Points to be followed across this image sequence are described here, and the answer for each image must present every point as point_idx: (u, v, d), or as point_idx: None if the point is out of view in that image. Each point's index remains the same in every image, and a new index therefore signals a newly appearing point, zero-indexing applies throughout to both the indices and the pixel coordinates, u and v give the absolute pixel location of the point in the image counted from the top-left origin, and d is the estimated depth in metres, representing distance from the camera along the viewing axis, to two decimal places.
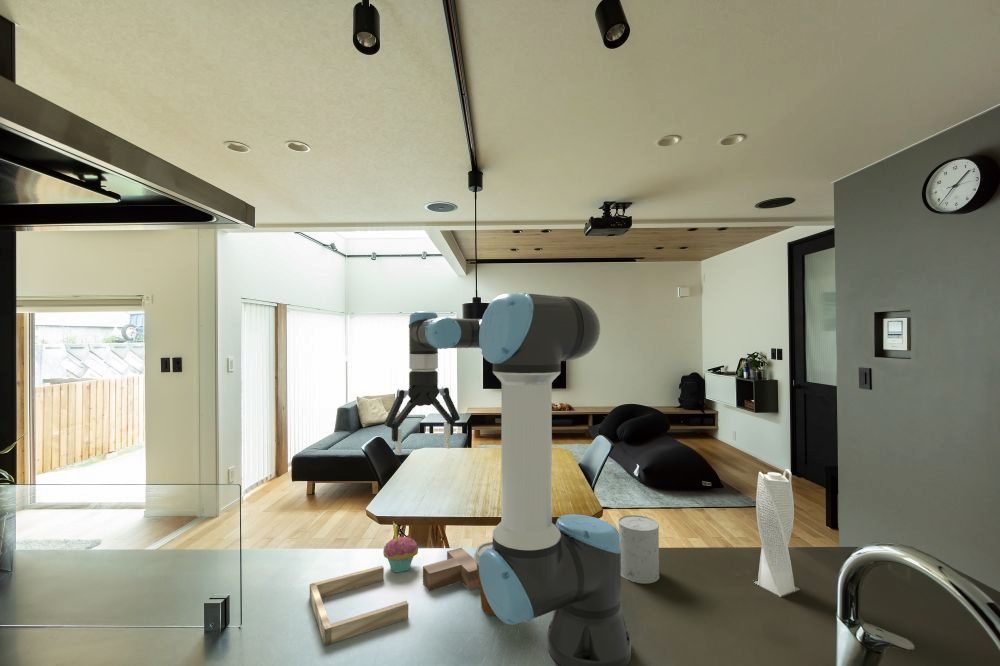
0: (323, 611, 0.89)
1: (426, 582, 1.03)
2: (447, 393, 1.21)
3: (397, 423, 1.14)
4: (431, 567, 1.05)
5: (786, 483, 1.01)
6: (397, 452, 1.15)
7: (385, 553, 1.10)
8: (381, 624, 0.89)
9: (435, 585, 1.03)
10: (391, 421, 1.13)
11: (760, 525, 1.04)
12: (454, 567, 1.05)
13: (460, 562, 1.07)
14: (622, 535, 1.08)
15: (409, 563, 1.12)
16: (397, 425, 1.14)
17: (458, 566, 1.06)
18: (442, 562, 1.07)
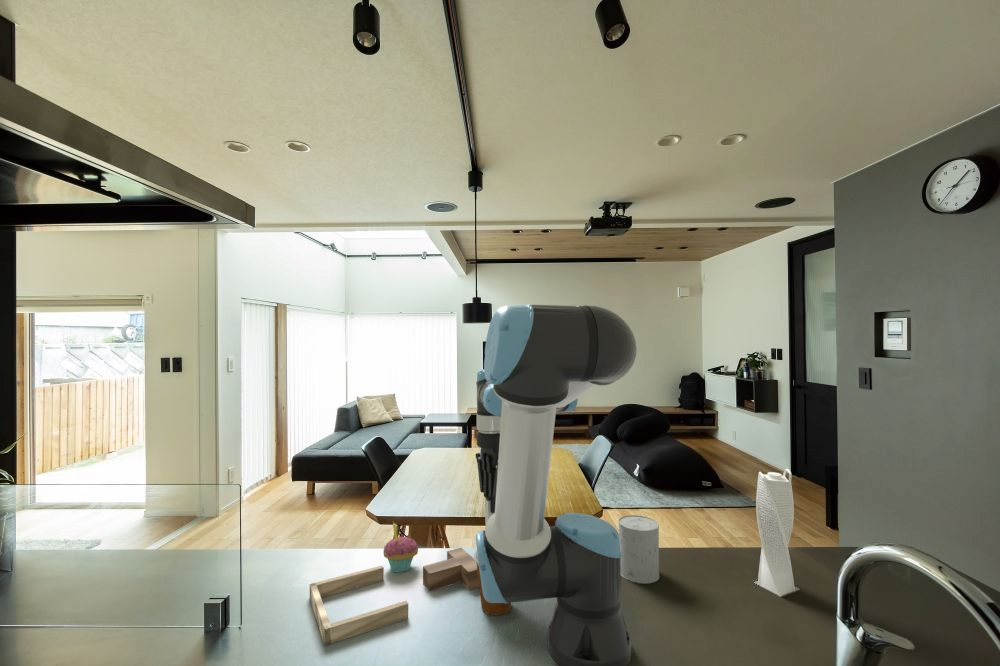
0: (323, 611, 0.89)
1: (426, 582, 1.03)
2: (497, 469, 1.08)
3: (484, 491, 1.14)
4: (431, 567, 1.05)
5: (786, 483, 1.01)
6: None
7: (385, 553, 1.10)
8: (381, 624, 0.89)
9: (435, 585, 1.03)
10: (481, 486, 1.15)
11: (760, 525, 1.04)
12: (454, 567, 1.05)
13: (460, 562, 1.07)
14: (622, 535, 1.08)
15: (409, 563, 1.12)
16: (484, 493, 1.14)
17: (458, 566, 1.06)
18: (442, 562, 1.07)
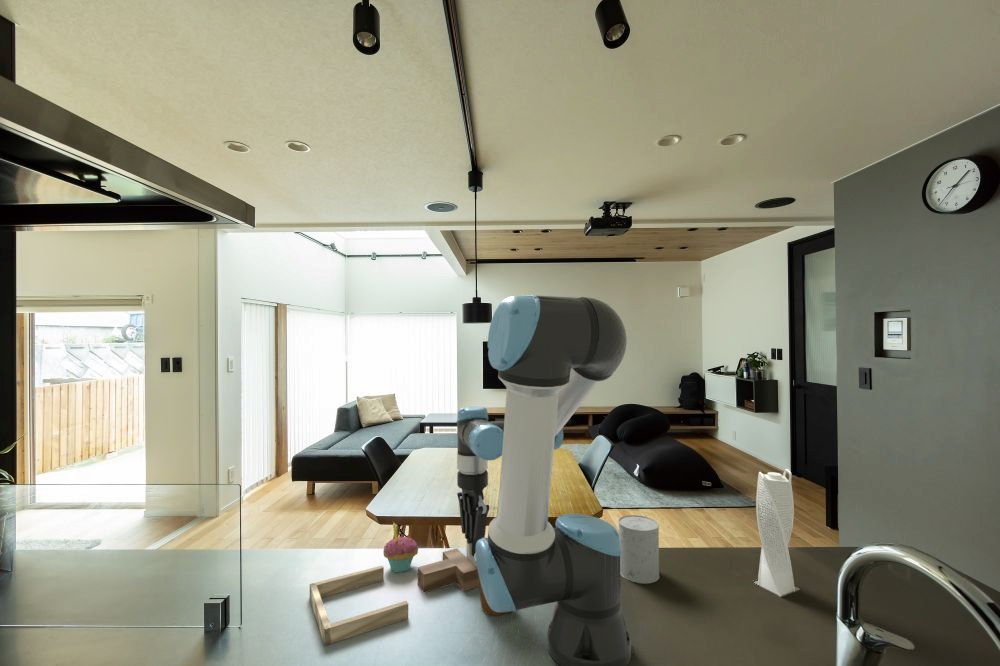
0: (323, 611, 0.89)
1: (421, 583, 1.03)
2: (478, 512, 1.05)
3: (465, 532, 1.11)
4: (426, 568, 1.04)
5: (786, 483, 1.01)
6: None
7: (385, 553, 1.10)
8: (381, 624, 0.89)
9: (430, 586, 1.02)
10: (462, 527, 1.12)
11: (760, 525, 1.04)
12: (449, 569, 1.05)
13: (455, 563, 1.07)
14: (622, 535, 1.08)
15: (409, 563, 1.12)
16: (466, 534, 1.11)
17: (453, 567, 1.05)
18: (437, 563, 1.07)
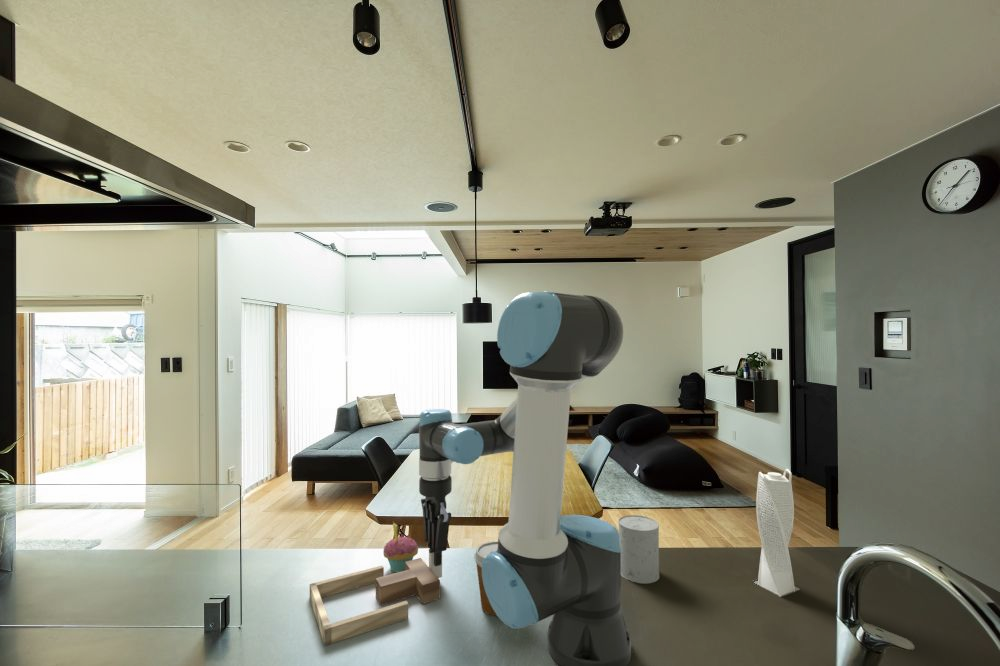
0: (323, 611, 0.89)
1: (378, 595, 0.98)
2: (439, 520, 1.00)
3: (428, 541, 1.06)
4: (384, 579, 0.99)
5: (786, 483, 1.01)
6: None
7: (385, 553, 1.10)
8: (381, 624, 0.89)
9: (387, 599, 0.97)
10: (425, 535, 1.07)
11: (760, 525, 1.04)
12: (409, 580, 1.00)
13: (416, 574, 1.02)
14: (622, 535, 1.08)
15: None
16: (428, 543, 1.06)
17: (413, 578, 1.00)
18: (397, 574, 1.02)
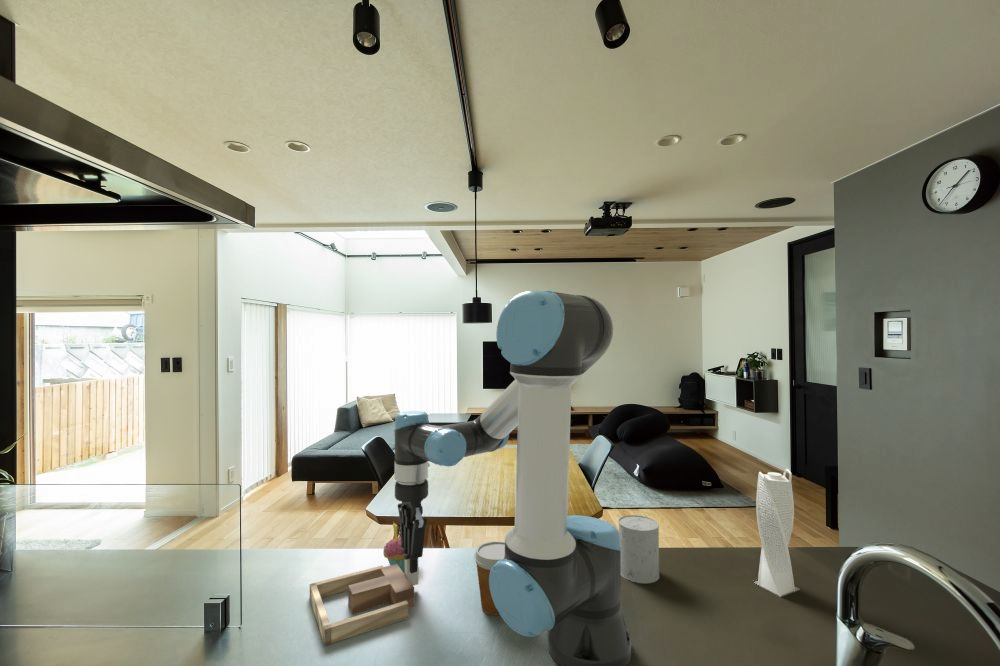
0: (323, 611, 0.89)
1: (350, 603, 0.95)
2: (414, 526, 0.97)
3: (404, 547, 1.03)
4: (357, 587, 0.96)
5: (786, 483, 1.01)
6: None
7: (385, 553, 1.10)
8: (381, 624, 0.89)
9: (359, 607, 0.94)
10: (401, 541, 1.04)
11: (760, 525, 1.04)
12: (382, 587, 0.97)
13: (390, 581, 0.99)
14: (622, 535, 1.08)
15: None
16: (404, 549, 1.03)
17: (387, 585, 0.97)
18: (370, 581, 0.99)
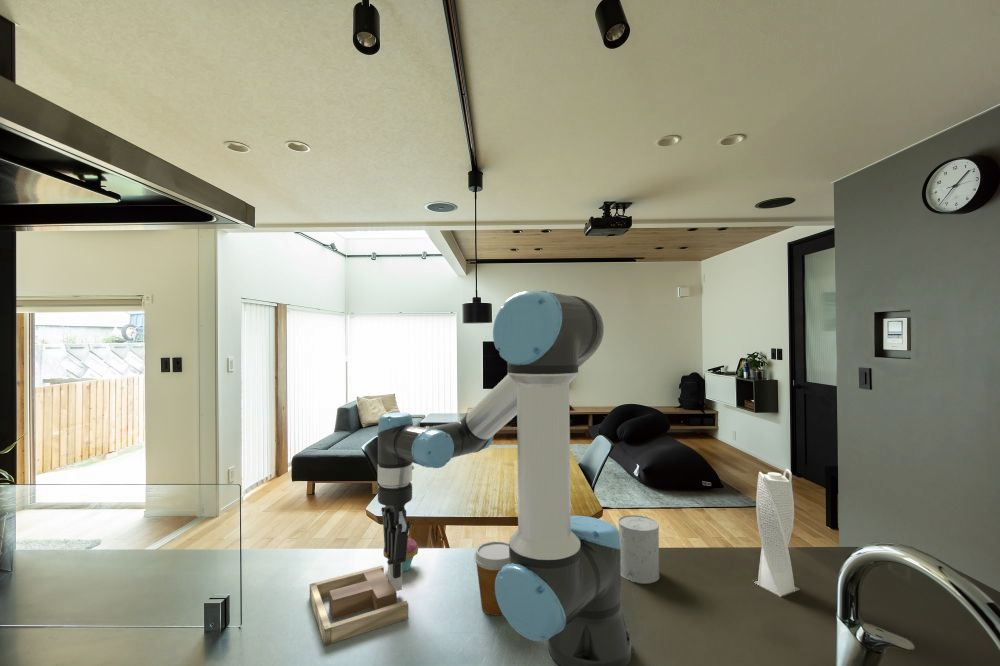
0: (323, 611, 0.89)
1: (331, 609, 0.93)
2: (397, 530, 0.95)
3: (387, 551, 1.01)
4: (338, 592, 0.94)
5: (786, 483, 1.01)
6: None
7: (385, 553, 1.10)
8: (381, 624, 0.89)
9: (340, 613, 0.92)
10: (385, 545, 1.02)
11: (760, 525, 1.04)
12: (364, 593, 0.95)
13: (372, 586, 0.97)
14: (622, 535, 1.08)
15: (409, 563, 1.12)
16: (387, 554, 1.01)
17: (369, 591, 0.95)
18: (352, 586, 0.97)
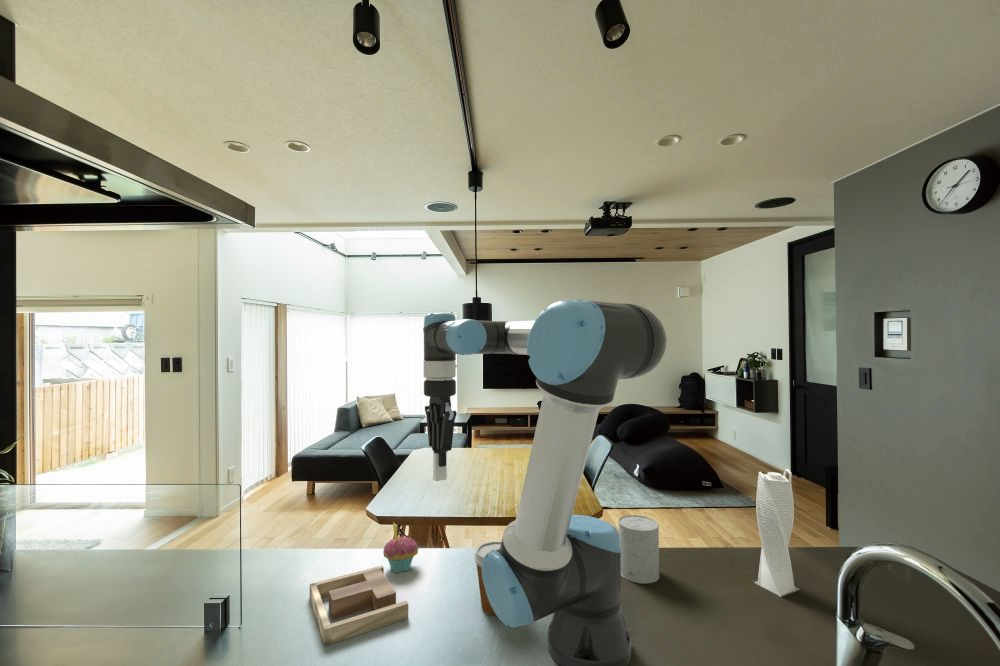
0: (323, 611, 0.89)
1: (330, 609, 0.93)
2: (444, 417, 1.01)
3: (432, 444, 1.06)
4: (337, 592, 0.94)
5: (786, 483, 1.01)
6: None
7: (385, 553, 1.10)
8: (381, 624, 0.89)
9: (340, 613, 0.92)
10: (429, 440, 1.08)
11: (760, 525, 1.04)
12: (363, 593, 0.95)
13: (372, 586, 0.97)
14: (622, 535, 1.08)
15: (409, 563, 1.12)
16: (432, 446, 1.06)
17: (368, 591, 0.95)
18: (352, 586, 0.97)
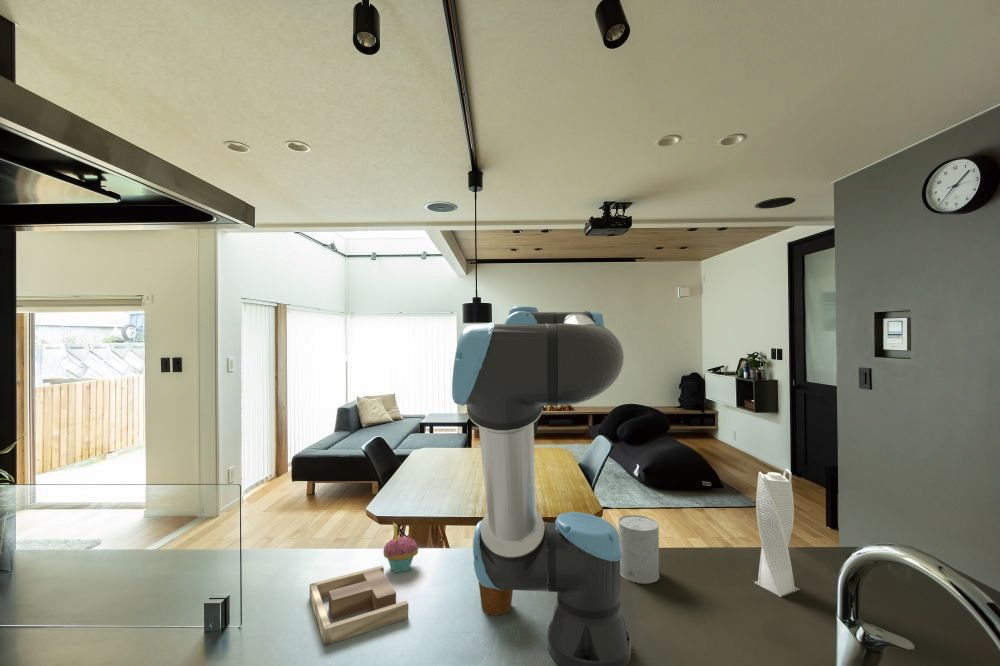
0: (323, 611, 0.89)
1: (330, 609, 0.93)
2: None
3: None
4: (337, 592, 0.94)
5: (786, 483, 1.01)
6: None
7: (385, 553, 1.10)
8: (381, 624, 0.89)
9: (340, 613, 0.92)
10: None
11: (760, 525, 1.04)
12: (363, 593, 0.95)
13: (372, 586, 0.97)
14: (622, 535, 1.08)
15: (409, 563, 1.12)
16: None
17: (368, 591, 0.95)
18: (352, 586, 0.97)
